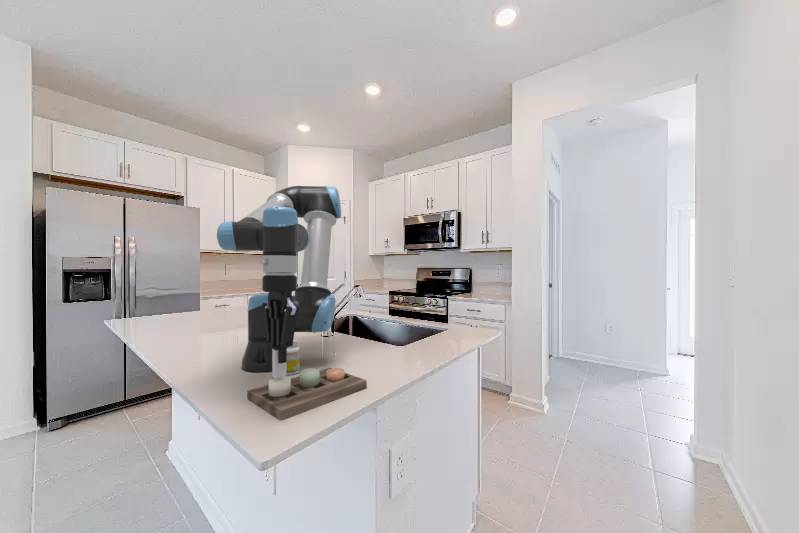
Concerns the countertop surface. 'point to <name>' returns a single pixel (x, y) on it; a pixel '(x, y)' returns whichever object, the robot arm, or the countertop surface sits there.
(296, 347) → the supplement bottle
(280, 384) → the cream button
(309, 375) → the sage button
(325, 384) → the wooden tray
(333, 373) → the terracotta button
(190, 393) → the countertop surface
